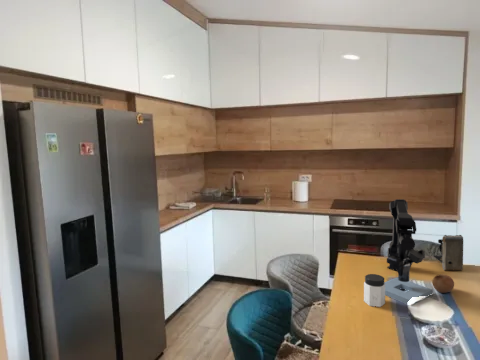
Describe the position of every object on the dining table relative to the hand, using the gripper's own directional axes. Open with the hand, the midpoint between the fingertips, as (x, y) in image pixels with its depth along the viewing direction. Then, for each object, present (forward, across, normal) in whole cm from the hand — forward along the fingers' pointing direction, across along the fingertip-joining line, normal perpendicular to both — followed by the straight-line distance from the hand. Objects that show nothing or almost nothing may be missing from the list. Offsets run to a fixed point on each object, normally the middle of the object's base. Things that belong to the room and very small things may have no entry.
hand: (403, 274), depth 161 cm
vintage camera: (+9, +49, +5) cm, 50 cm away
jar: (+9, -19, +2) cm, 21 cm away
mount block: (+9, 0, 0) cm, 9 cm away
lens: (+2, 0, 0) cm, 3 cm away
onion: (+9, +16, -10) cm, 21 cm away
